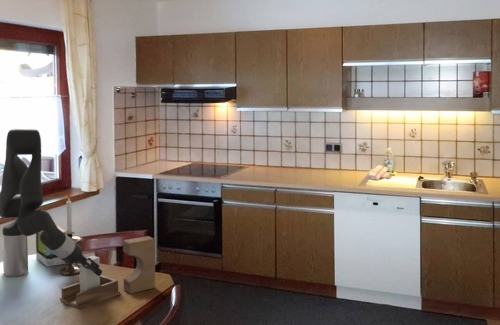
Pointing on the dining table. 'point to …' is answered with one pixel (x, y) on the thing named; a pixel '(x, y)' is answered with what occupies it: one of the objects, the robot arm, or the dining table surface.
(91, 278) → the white rectangular block
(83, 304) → the tray
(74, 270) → the candlestick
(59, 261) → the tea box
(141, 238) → the decorative block
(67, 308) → the dining table surface
